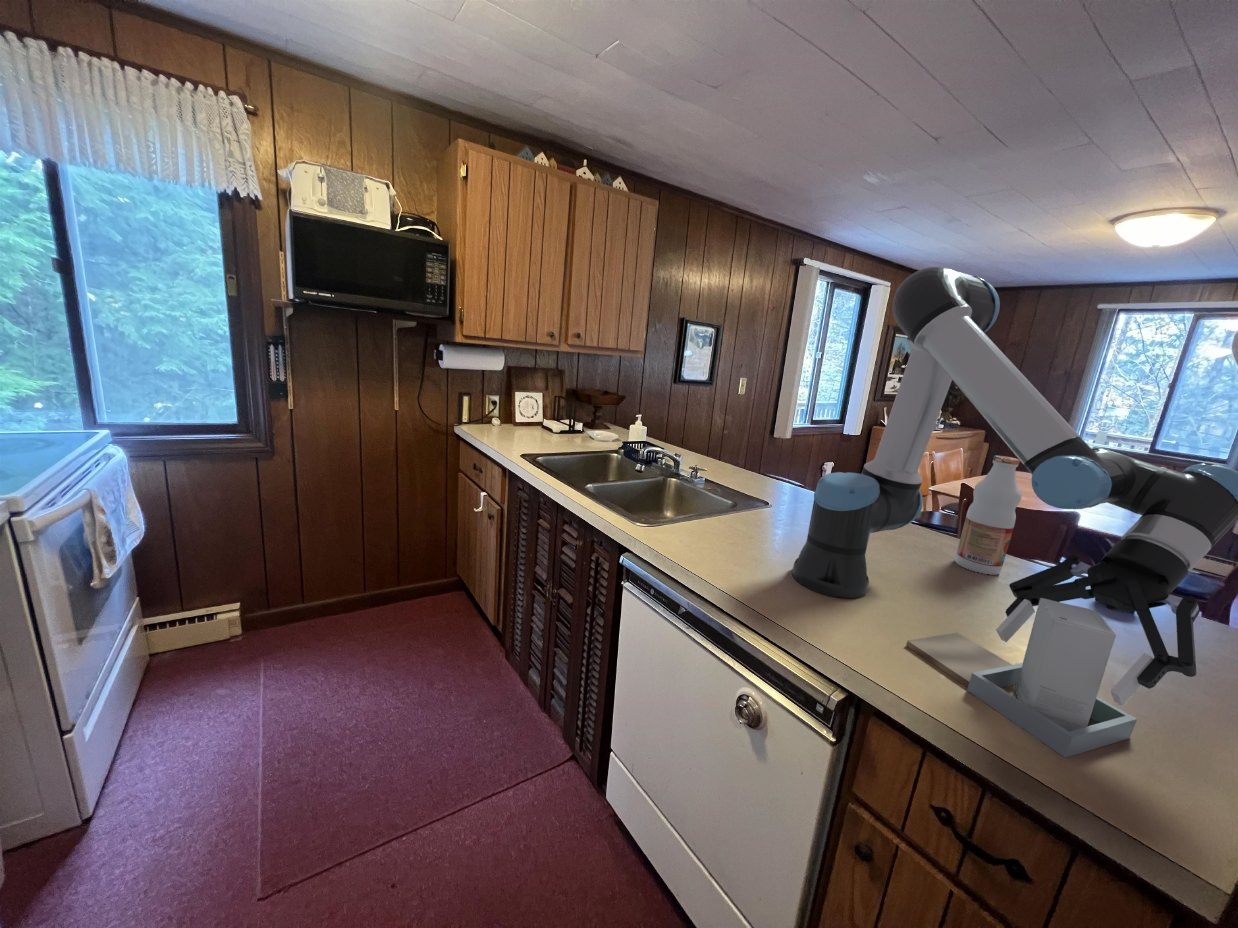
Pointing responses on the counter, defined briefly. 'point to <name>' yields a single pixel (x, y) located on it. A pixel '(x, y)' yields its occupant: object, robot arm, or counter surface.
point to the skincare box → (1065, 663)
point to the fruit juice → (990, 519)
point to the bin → (1066, 743)
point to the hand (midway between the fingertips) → (1052, 664)
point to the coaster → (956, 655)
